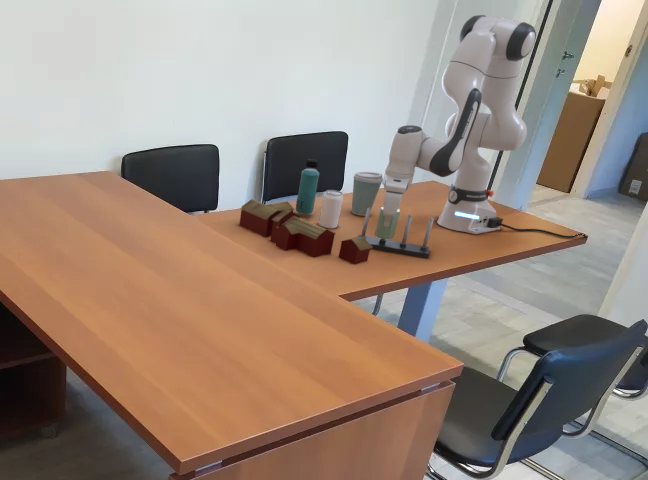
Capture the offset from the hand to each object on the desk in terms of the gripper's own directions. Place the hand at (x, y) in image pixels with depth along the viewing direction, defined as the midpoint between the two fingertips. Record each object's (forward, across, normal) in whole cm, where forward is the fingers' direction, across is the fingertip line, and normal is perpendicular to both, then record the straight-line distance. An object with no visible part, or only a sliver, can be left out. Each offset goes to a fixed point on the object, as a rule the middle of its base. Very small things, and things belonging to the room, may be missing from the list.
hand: (387, 222), depth 229 cm
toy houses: (+8, +10, -25) cm, 28 cm away
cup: (+5, 0, 0) cm, 5 cm away
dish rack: (+8, 0, +3) cm, 9 cm away
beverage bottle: (+8, -20, -30) cm, 36 cm away
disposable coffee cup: (+8, -34, -10) cm, 37 cm away
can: (+8, -12, -20) cm, 25 cm away
